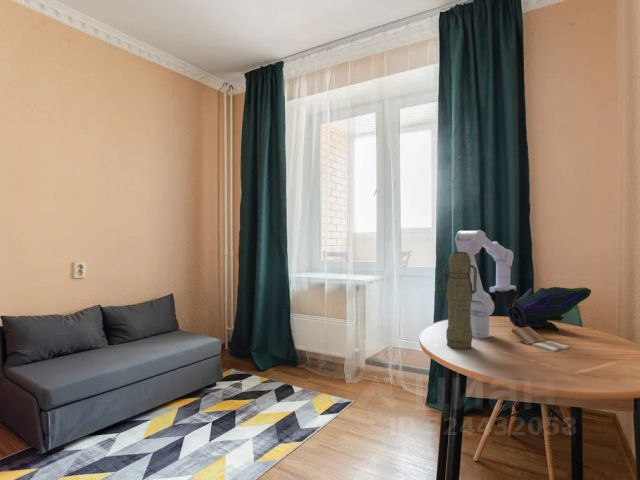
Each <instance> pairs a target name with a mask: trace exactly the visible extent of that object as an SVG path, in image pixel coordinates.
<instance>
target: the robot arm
mask: <svg viewBox="0 0 640 480" xmlns="http://www.w3.org/2000/svg"><path fill="white" fill-rule="evenodd" d="M486 235H487V234H486V232H485V231H483V230H482V229H481V230H480V229H478V230H458V232H456V235H455V237H454V238H455V239H454V242H455V245H456V249H457V252H466V253H468V254H469V257H470V260H471V265H474V266H475V267H476V269H477V284H476V292H475V293H474V294H472V301H471V330H472V338H474V339H475V338H476V339H484V338H490V337H494V334H491V333H490V316H491V315H492V314H493V313H494V310H495V309H498V310H499V309H500V308H501V302H502V301H501V300H502V297H503V295H504V299H505V306H506V308H507V307H512V303H513V302H514V301H515V298H516V296H517V294H518V291H517V286H516V285H511V276H512V275H511V267H512V265H513V261H514V256H515V255H514V252H513V251H512V250H511V249H508V248H505V247H504V246H503V245H501V244H499V241H491V240H490V239H489V238H488V237H487V236H486ZM482 248H484V249H485V251H486V253H487V254H488V255H490V256H491V257H492V259H493V261H494V262H495V285H494V286H490V287H489V291H488V293H487V292H486V291H485V290H484V287H483V284H482V280H481V276H480V273H479V269H478V266H477V262H476V257H475V255H477V254H478V253H480V251H481V249H482ZM470 277H471V278H470V280H471V283H472V290H473V291H474V270H473V268H472V267H471V273H470ZM502 292H503V293H502Z"/></svg>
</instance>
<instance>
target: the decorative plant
mask: <svg viewBox="0 0 640 480" xmlns="http://www.w3.org/2000/svg"><path fill="white" fill-rule="evenodd" d="M533 289H534V288H531V287H530V288H529V289H527V291H526V292H525V293H524V294H523V295H521V296H520V297H519V298H518V299H516V300H513V303H512V307H506V309H505V311H506V312H505V313H506V314H507V315H508V317H509V321H510V322H511V323H512V325H513V326H518V327H523V326H524V327H525V326H542V327H545V328H549V329H552V330H553V331H556V332H557V331H559V329H560V327H557V326H556V324H555V323H553V322H552V321H558V322H560V321H561V322H562V321H563V320H564V318H565V316H563V315H564V314H567V313H569V312H570V311H571V310H573V309H574V308H575V307H576V306H577V305H578V304H580V303H582V302H584V301H585V300H587V299H588V298H589V297H590V296H591V293H592V290H591V289H590V288H588V287H585V286H584V287H575V288H569V287H568V288H567V287H560V286H552V287H549V288H545V287H540V288H538V290H536V291H535V292H534V293H532V292H533Z"/></svg>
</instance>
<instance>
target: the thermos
mask: <svg viewBox="0 0 640 480" xmlns="http://www.w3.org/2000/svg"><path fill="white" fill-rule="evenodd" d="M447 267H448V273H449V274H448V281H447V282H446V268H447ZM471 267H472V268H473V270H474V291H473V290H472V283H471V280H470V278H471V277H470V273H471ZM446 283H447V284H446ZM476 284H477V269H476V267H475V266H474V265H471V260H470V257H469V254H468V253H466V252H458V251H453V252H451V253H450V255H449V259H448V263H445V264H444V265H443V267H442V291H443V292H445V293H446V299H447V301H448V302H447V304H448V305H447V328H446V331H445V332H446V347H448V346H449V347H448V348H450V347H451V349H454V350H460V349H462V351H463V350H464V351H465V350H466V349H467V350H471V349H472V347H473V346H472V341H473V337H472V330H471V301H472V294H474V293H475V292H476Z"/></svg>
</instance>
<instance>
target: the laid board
mask: <svg viewBox="0 0 640 480" xmlns="http://www.w3.org/2000/svg"><path fill="white" fill-rule="evenodd" d="M530 346H531V347H534V348H538V349H541V350H544V351H545V350H546V351H548V352H553V353H555V352H558V351H562V350H566V349H567V350H568V349H570V348H571V346H570V345H567V344H562V343H559V342H555V341H554V342H553V341H550V340H546V341H543V342H538V343H533V344H531V345H530Z"/></svg>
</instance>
